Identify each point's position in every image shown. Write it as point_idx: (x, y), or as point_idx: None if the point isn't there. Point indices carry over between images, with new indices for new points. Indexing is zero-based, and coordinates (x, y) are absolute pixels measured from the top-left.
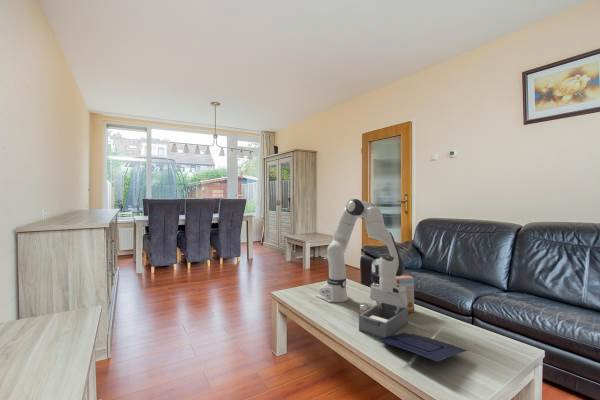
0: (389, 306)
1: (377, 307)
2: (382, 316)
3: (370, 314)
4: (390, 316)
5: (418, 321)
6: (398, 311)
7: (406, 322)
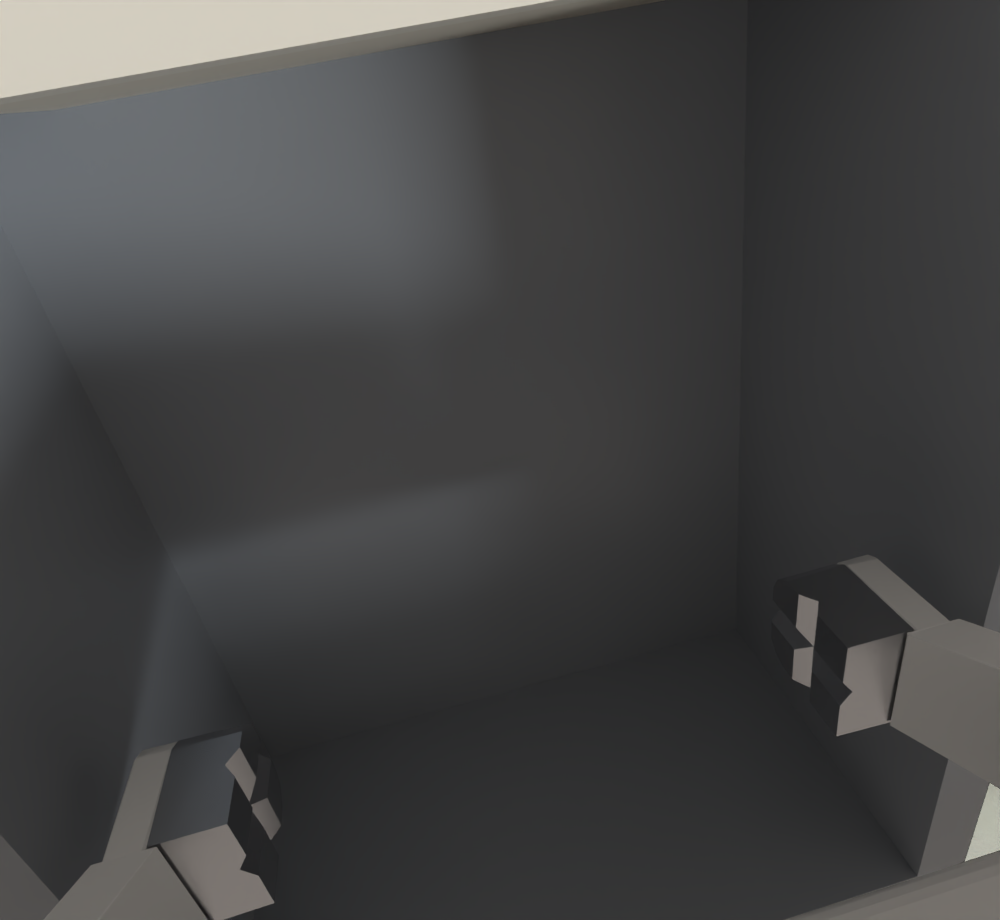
0: (692, 888)
1: (935, 608)
2: (711, 585)
3: (940, 43)
4: (581, 686)
5: None
6: (425, 892)
7: None
